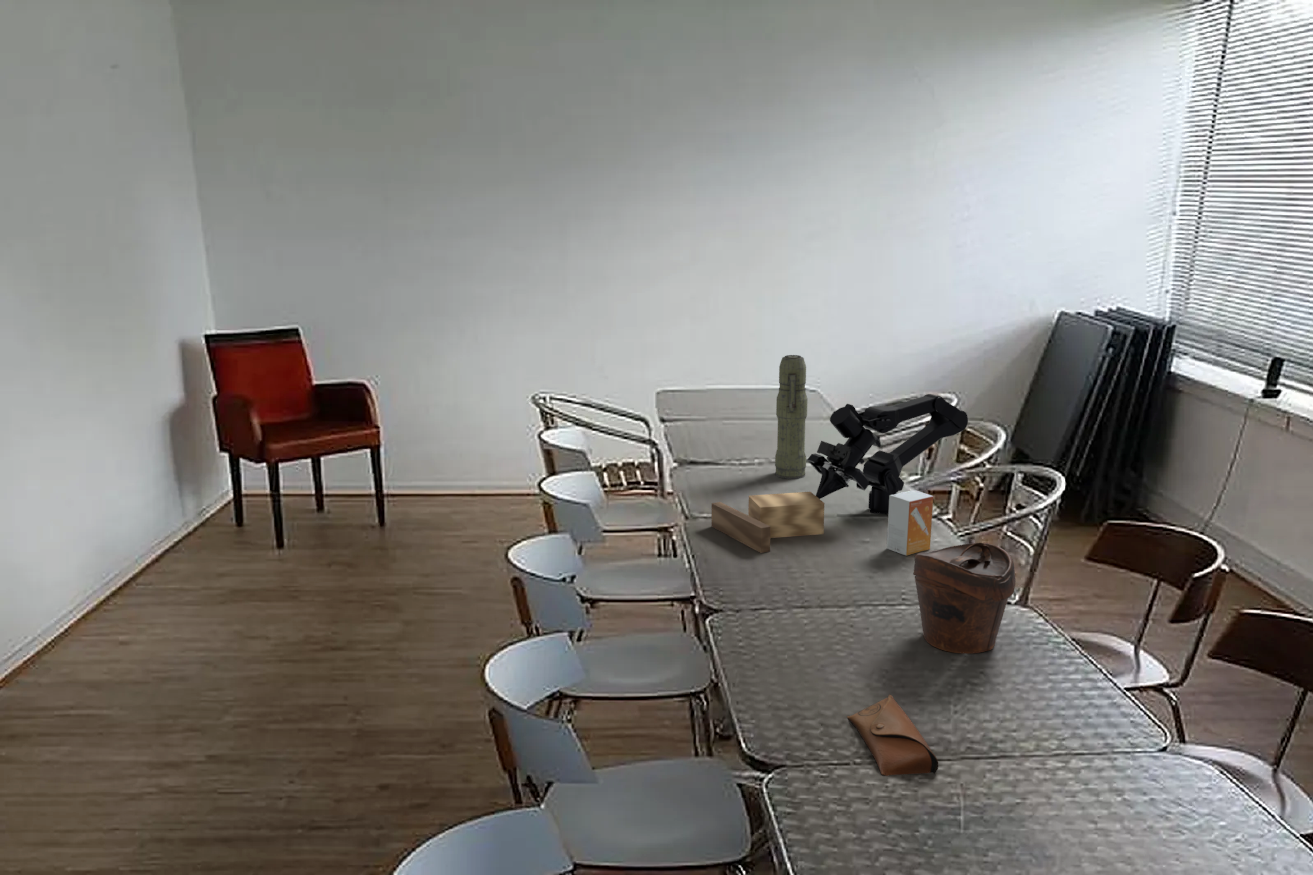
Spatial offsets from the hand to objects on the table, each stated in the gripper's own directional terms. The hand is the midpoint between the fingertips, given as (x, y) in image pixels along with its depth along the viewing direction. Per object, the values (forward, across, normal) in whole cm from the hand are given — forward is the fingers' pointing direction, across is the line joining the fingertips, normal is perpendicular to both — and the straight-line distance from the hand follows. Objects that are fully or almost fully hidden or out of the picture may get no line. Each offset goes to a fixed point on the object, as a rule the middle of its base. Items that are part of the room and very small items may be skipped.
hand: (817, 497), depth 251 cm
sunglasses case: (+43, +89, -32) cm, 104 cm away
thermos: (-10, -40, +19) cm, 46 cm away
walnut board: (+21, 0, -11) cm, 24 cm away
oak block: (+12, 0, -2) cm, 12 cm away
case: (+18, +67, -7) cm, 70 cm away
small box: (0, +26, +10) cm, 27 cm away
